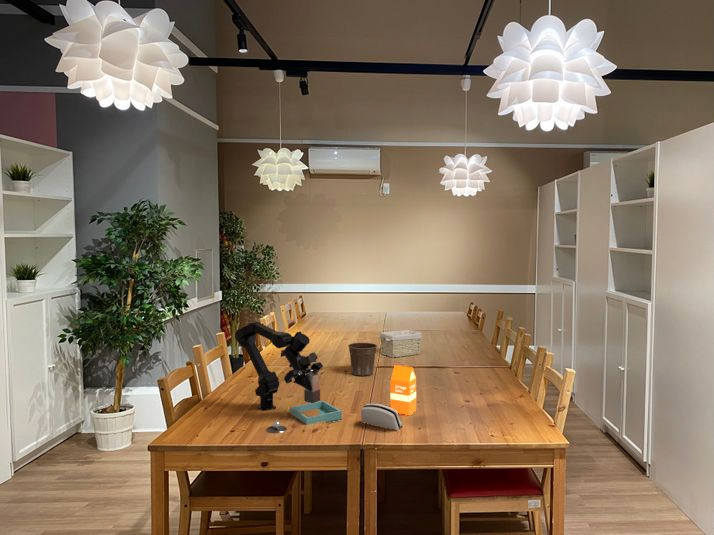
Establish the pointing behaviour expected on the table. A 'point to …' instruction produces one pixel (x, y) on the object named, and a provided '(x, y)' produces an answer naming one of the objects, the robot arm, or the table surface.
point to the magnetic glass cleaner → (380, 416)
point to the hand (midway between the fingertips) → (314, 389)
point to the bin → (325, 409)
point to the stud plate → (272, 430)
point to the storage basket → (400, 343)
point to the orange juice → (403, 390)
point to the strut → (315, 392)
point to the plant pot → (362, 358)
